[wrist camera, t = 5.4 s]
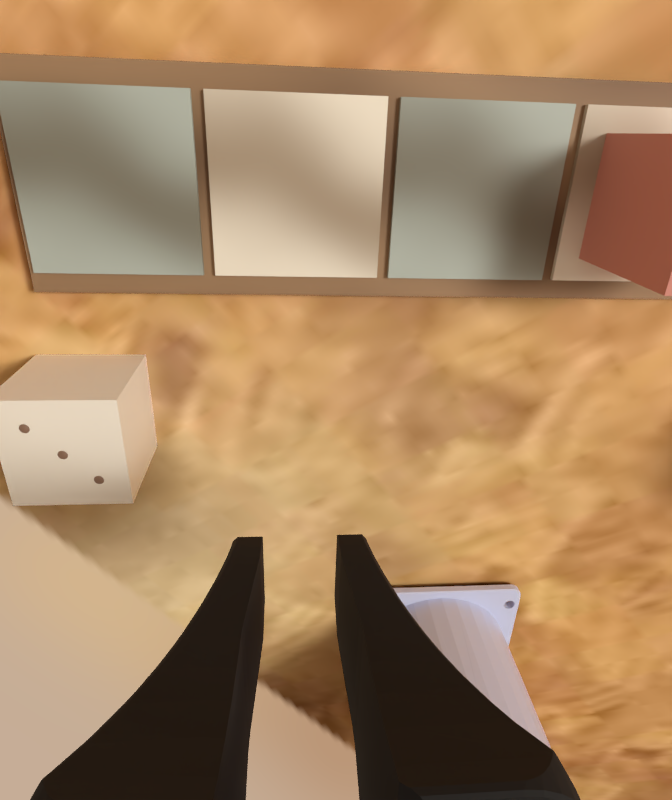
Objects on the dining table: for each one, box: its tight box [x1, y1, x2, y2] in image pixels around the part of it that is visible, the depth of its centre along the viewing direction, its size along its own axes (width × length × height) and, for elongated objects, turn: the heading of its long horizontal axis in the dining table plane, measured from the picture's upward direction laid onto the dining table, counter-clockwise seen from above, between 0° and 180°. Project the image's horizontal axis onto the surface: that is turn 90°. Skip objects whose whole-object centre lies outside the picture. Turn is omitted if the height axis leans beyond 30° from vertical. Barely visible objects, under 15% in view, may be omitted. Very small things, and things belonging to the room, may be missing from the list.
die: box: [0, 354, 158, 506], centre depth 20 cm, size 4×4×4 cm
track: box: [0, 53, 672, 299], centre depth 18 cm, size 7×24×1 cm, turn 88°
